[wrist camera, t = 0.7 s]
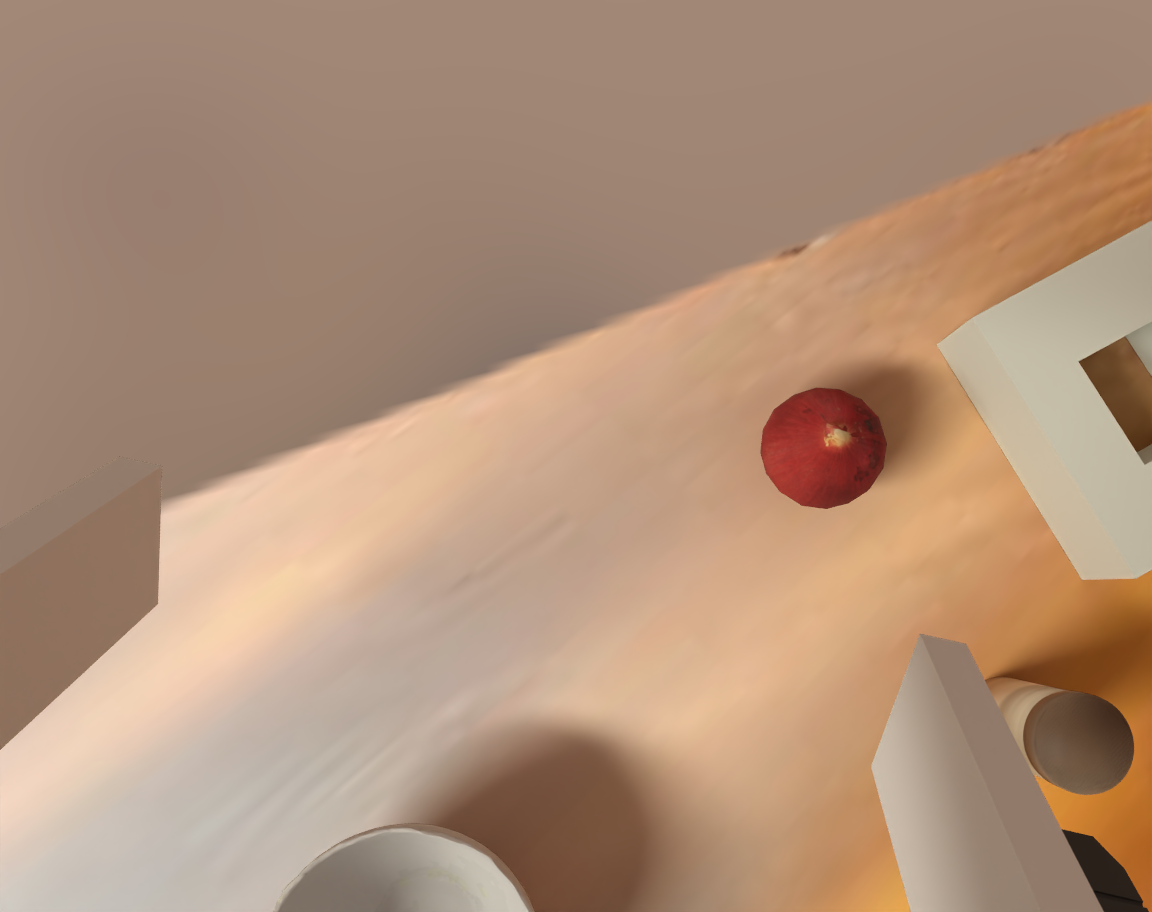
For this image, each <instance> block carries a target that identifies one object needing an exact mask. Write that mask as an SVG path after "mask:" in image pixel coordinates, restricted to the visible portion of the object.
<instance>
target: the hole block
mask: <svg viewBox="0 0 1152 912" xmlns="http://www.w3.org/2000/svg"><path fill="white" fill-rule="evenodd" d="M1124 336H1126V338H1127V340H1128V341H1129V343H1130V344H1131V346H1132V347H1133V349H1134V350H1135V352H1136V353H1137V355H1138V356H1139V358H1140V359H1141V361H1142V363H1143V364H1144V366H1145V367H1146V369H1147V370H1148V372H1149V373H1150V375H1151V376H1152V221H1150V222H1148V223H1146V224H1144V225H1142V226H1141V227H1139V228H1137V229H1135V230H1133V231H1131V232H1129V233H1128V234H1126V235H1124V236H1122V237H1120V238H1118V239H1117V240H1115V241H1113V242H1111V243H1109V244H1107V245H1106V246H1104V247H1102V248H1100V249H1098V250H1096V251H1094V252H1093V253H1091V254H1089V255H1087V256H1085V257H1083V258H1082V259H1080V260H1078V261H1076V262H1074V263H1072V264H1070V265H1069V266H1067V267H1065V268H1063V269H1061V270H1059V271H1058V272H1056V273H1054V274H1052V275H1050V276H1048V277H1046V278H1045V279H1043V280H1041V281H1039V282H1037V283H1035V284H1034V285H1032V286H1030V287H1028V288H1026V289H1024V290H1022V291H1021V292H1019V293H1017V294H1015V295H1013V296H1011V297H1010V298H1008V299H1006V300H1004V301H1002V302H1000V303H999V304H997V305H995V306H993V307H991V308H989V309H987V310H986V311H984V312H982V313H980V314H978V315H976V316H975V317H973V318H971V319H970V320H969V321H967V322H966V323H965V324H963V325H962V326H961V327H959V328H958V329H957V330H955V331H954V332H953V333H951V334H950V335H949V336H947V337H946V338H945V339H943V340H942V341H941V342H939V343H938V344H937V346H938V348H939V349H940V351H941V353H942V354H943V356H944V358H945V359H946V361H947V362H948V364H949V366H950V367H951V369H952V370H953V372H954V374H955V375H956V377H957V379H958V380H959V382H960V383H961V385H962V387H963V388H964V390H965V392H966V393H967V395H968V396H969V398H970V400H971V401H972V403H973V404H974V406H975V408H976V409H977V411H978V413H979V414H980V416H981V417H982V419H983V421H984V422H985V424H986V425H987V427H988V429H989V430H990V432H991V434H992V435H993V437H994V438H995V440H996V442H997V443H998V445H999V446H1000V448H1001V450H1002V451H1003V453H1004V455H1005V456H1006V458H1007V459H1008V461H1009V463H1010V464H1011V466H1012V467H1013V469H1014V471H1015V472H1016V474H1017V476H1018V477H1019V479H1020V480H1021V482H1022V484H1023V485H1024V487H1025V488H1026V490H1027V492H1028V493H1029V495H1030V497H1031V498H1032V500H1033V501H1034V503H1035V505H1036V506H1037V508H1038V509H1039V511H1040V513H1041V514H1042V516H1043V518H1044V519H1045V521H1046V522H1047V524H1048V526H1049V527H1050V529H1051V530H1052V532H1053V534H1054V535H1055V537H1056V539H1057V540H1058V542H1059V543H1060V545H1061V547H1062V548H1063V550H1064V551H1065V553H1066V555H1067V556H1068V558H1069V560H1070V561H1071V563H1072V564H1073V566H1074V568H1075V569H1076V571H1077V573H1078V574H1079V576H1080V577H1081V579H1082V580H1092V579H1136V578H1138V577H1139V576H1141V575H1143V574H1145V573H1147V572H1148V571H1150V570H1152V444H1151V445H1149V446H1147V447H1145V448H1144V449H1142V450H1140V451H1138V452H1136V451H1135V449H1134V448H1133V446H1132V444H1131V443H1130V441H1129V440H1128V438H1127V437H1126V435H1125V434H1124V432H1123V430H1122V429H1121V427H1120V426H1119V424H1118V423H1117V421H1116V420H1115V418H1114V416H1113V415H1112V413H1111V412H1110V410H1109V409H1108V407H1107V406H1106V404H1105V402H1104V401H1103V399H1102V398H1101V396H1100V395H1099V393H1098V392H1097V390H1096V388H1095V387H1094V385H1093V384H1092V382H1091V381H1090V379H1089V377H1088V376H1087V374H1086V373H1085V371H1084V370H1083V368H1082V367H1081V365H1080V363H1079V362H1078V361H1080V360H1082V359H1084V358H1086V357H1088V356H1089V355H1091V354H1093V353H1095V352H1097V351H1099V350H1100V349H1102V348H1104V347H1106V346H1108V345H1110V344H1111V343H1113V342H1115V341H1117V340H1119V339H1121V338H1122V337H1124Z"/></svg>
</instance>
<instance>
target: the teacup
mask: <svg viewBox="0 0 1152 912" xmlns="http://www.w3.org/2000/svg"><path fill="white" fill-rule="evenodd" d="M273 912H535V911H534V909H533V906H532V904H531V901H530V899H529V897H528V896H527V894H526V892H525V890H524V888H523V887H522V885H521V884H520V882H519V881H518V879H517V878H516V876H515V875H514V874H513V873H512V871H511V870H510V869H509V868H508V866H507V865H506V864H505V863H504V862H503V861H502V860H501V859H500V858H499V857H498V856H497V855H495V854H494V853H493V852H492V851H490V850H489V849H488V848H487V847H485V846H484V845H482V844H481V843H479V842H477V841H476V840H474V839H472V838H470V837H468V836H466V835H464V834H462V833H459V832H456V831H453V830H451V829H448V828H443V827H439V826H434V825H429V824H414V823H413V824H397V825H389V826H384V827H379V828H375V829H371V830H368V831H365V832H362V833H359V834H357V835H354V836H352V837H350V838H347V839H345V840H343V841H341V842H340V843H338V844H336V845H334V846H333V847H331V848H330V849H328V850H327V851H325V852H324V853H322V854H321V855H319V856H318V857H317V858H316V859H315V860H314V861H312V862H311V863H310V864H309V865H308V866H306V867H305V868H304V869H303V870H302V872H301V873H300V874H299V875H298V876H297V877H296V878H295V879H294V880H293V881H292V882H290V883H289V884H288V885H287V887H286V888H285V889H284V890H283V891H282V895H281V896H280V897H279V900H278V902H277V904H276V906H275V909H274V910H273Z"/></svg>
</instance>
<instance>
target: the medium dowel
mask: <svg viewBox="0 0 1152 912" xmlns="http://www.w3.org/2000/svg"><path fill="white" fill-rule="evenodd" d="M985 682H986V684H987V686H988V688H989V690H990V692H991V693H992V695H993V697H994V699H995V701H996V703H997V705H998V707H999V709H1000V711H1001V713H1002V715H1003V717H1004V719H1005V721H1006V723H1007V725H1008V727H1009V728H1010V730H1011V732H1012V734H1013V736H1014V738H1015V740H1016V742H1017V744H1018V746H1019V748H1020V750H1021V752H1022V754H1023V756H1024V758H1025V760H1026V762H1027V763H1028V765H1029V767H1030V769H1031V771H1032V773H1033V774H1034V775H1036V776H1038V777H1040V778H1043V779H1045V780H1047V781H1048V782H1050V783H1052V784H1054V785H1056V786H1058V787H1060V788H1062V789H1065V790H1067V791H1070V792H1072V793H1076V794H1082V795H1093V794H1099V793H1102V792H1105V791H1107V790H1110V789H1111V788H1113V787H1114V786H1116V785H1117V784H1118V783H1119V782H1121V780H1122V779H1123V778H1124V777H1125V776H1126V774H1127V772H1128V771H1129V768H1130V766H1131V764H1132V760H1133V755H1134V741H1133V736H1132V732H1131V729H1130V727H1129V725H1128V723H1127V721H1126V719H1125V718H1124V716H1123V715H1122V714H1121V713H1120V711H1119V710H1118V709H1117V708H1116V707H1114V706H1113V705H1112V704H1111V703H1109V702H1108V701H1106V700H1104V699H1102V698H1100V697H1097V696H1095V695H1091V694H1086V693H1082V692H1077V691H1067V690H1063V689H1058V688H1054V687H1050V686H1045V685H1041V684H1036V683H1032V682H1027V681H1023V680H1018V679H1014V678H1009V677H996V678H991V679H988V680H986V681H985Z"/></svg>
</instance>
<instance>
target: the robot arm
mask: <svg viewBox="0 0 1152 912" xmlns="http://www.w3.org/2000/svg"><path fill="white" fill-rule="evenodd" d="M161 480H162V466H161V465H156V464H151V463H147V462H143V461H138V460H133V459H128V458H124V457H120V456H119V457H117V458H116V459H114V460H112V461H111V462H109V463H107V464H106V465H104V466H103V467H101V468H99V469H98V470H96V471H94V472H93V473H91V474H90V475H88V476H86V477H84V478H83V479H81V480H79V481H78V482H76V483H74V484H73V485H71V486H69V487H68V488H66V489H65V490H63V491H61V492H60V493H58V494H56V495H55V496H53V497H51V498H50V499H48V500H46V501H45V502H43V503H41V504H40V505H38V506H36V507H35V508H33V509H32V510H30V511H28V512H26V513H25V514H23V515H22V516H20V517H18V518H17V519H15V520H13V521H12V522H10V523H8V524H7V525H5V526H4V527H2V528H0V750H1V749H2V748H3V747H4V746H5V745H6V744H7V743H8V742H9V741H10V740H11V739H12V738H14V737H15V736H16V735H17V734H18V733H19V732H20V731H21V730H22V729H23V728H24V727H25V726H26V725H28V724H29V723H30V722H31V721H32V720H33V719H34V718H35V717H36V716H37V715H38V714H39V713H41V712H42V711H43V710H44V709H45V708H46V707H47V706H48V705H49V704H50V703H51V702H52V701H53V700H55V699H56V698H57V697H58V696H59V695H60V694H61V693H62V692H63V691H64V690H65V689H66V688H68V687H69V686H70V685H71V684H72V683H73V682H74V681H75V680H76V679H77V678H78V677H79V676H81V675H82V674H83V673H84V672H85V671H86V670H87V669H88V668H89V667H90V666H91V665H92V664H93V663H95V662H96V661H97V660H98V659H99V658H100V657H101V656H102V655H103V654H104V653H105V652H106V651H108V650H109V649H110V648H111V647H112V646H113V645H114V644H115V643H116V642H117V641H118V640H119V639H120V638H122V637H123V636H124V635H125V634H126V633H127V632H128V631H129V630H130V629H131V628H132V627H133V626H135V625H136V624H137V623H138V622H139V621H140V620H141V619H142V618H143V617H144V616H145V615H146V614H147V613H149V612H150V611H151V610H152V609H153V608H154V607H155V606H156V605H157V604H158V582H159V548H160V514H161ZM871 768H872V771H873V775H874V779H875V782H876V786H877V790H878V793H879V797H880V801H881V804H882V808H883V812H884V815H885V819H886V823H887V826H888V830H889V834H890V837H891V841H892V845H893V848H894V852H895V856H896V859H897V863H898V866H899V870H900V874H901V877H902V881H903V885H904V888H905V892H906V896H907V899H908V903H909V907H910V910H911V912H1149V911H1148V909H1147V908H1144V907H1143V905H1142V903H1143V901H1142V899H1141V897H1140V895H1139V894H1138V892H1137V890H1136V888H1135V887H1134V885H1133V883H1132V881H1131V880H1130V878H1129V876H1128V874H1127V873H1126V871H1125V869H1124V868H1123V867H1122V866H1121V865H1120V864H1119V863H1118V862H1117V861H1116V860H1115V859H1114V858H1113V857H1112V856H1111V855H1110V854H1109V853H1108V852H1107V851H1106V850H1105V849H1104V848H1103V847H1102V846H1101V844H1100V843H1099V842H1098V841H1097V840H1096V839H1095V838H1094V837H1093V836H1088V835H1084V834H1080V833H1075V832H1071V831H1067V830H1062V829H1061V828H1060V826H1059V824H1058V822H1057V820H1056V818H1055V816H1054V814H1053V812H1052V810H1051V808H1050V806H1049V804H1048V802H1047V800H1046V798H1045V797H1044V795H1043V793H1042V791H1041V789H1040V787H1039V785H1038V783H1037V781H1036V779H1035V777H1034V775H1033V773H1032V771H1031V769H1030V767H1029V765H1028V763H1027V762H1026V760H1025V758H1024V756H1023V754H1022V752H1021V750H1020V748H1019V746H1018V744H1017V742H1016V740H1015V738H1014V736H1013V734H1012V732H1011V730H1010V728H1009V727H1008V725H1007V723H1006V721H1005V719H1004V717H1003V715H1002V713H1001V711H1000V709H999V707H998V705H997V703H996V701H995V699H994V697H993V695H992V693H991V692H990V690H989V688H988V686H987V684H986V682H985V680H984V678H983V676H982V674H981V672H980V670H979V668H978V666H977V664H976V662H975V660H974V658H973V656H972V655H971V653H970V651H969V649H968V647H967V645H966V644H964V643H960V642H955V641H951V640H946V639H942V638H937V637H933V636H928V635H924V634H920V635H919V638H918V641H917V644H916V646H915V649H914V652H913V654H912V657H911V660H910V663H909V665H908V668H907V671H906V673H905V676H904V679H903V682H902V684H901V687H900V690H899V692H898V695H897V698H896V700H895V703H894V706H893V709H892V711H891V714H890V717H889V719H888V722H887V725H886V728H885V730H884V733H883V736H882V738H881V741H880V744H879V747H878V749H877V752H876V755H875V757H874V760H873V763H872V766H871Z"/></svg>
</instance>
